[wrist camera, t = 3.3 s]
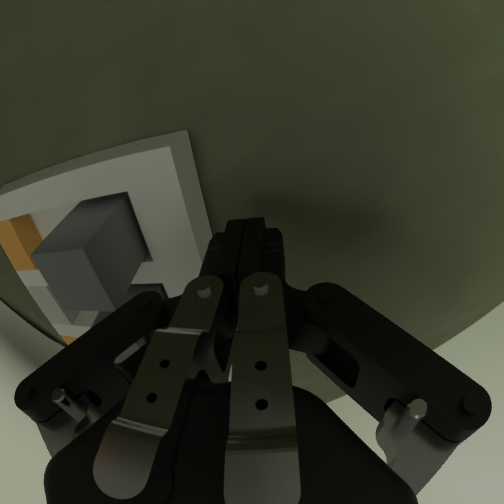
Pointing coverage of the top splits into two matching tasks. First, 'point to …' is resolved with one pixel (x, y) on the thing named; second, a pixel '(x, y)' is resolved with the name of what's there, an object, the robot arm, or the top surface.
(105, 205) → the tab
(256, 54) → the top surface
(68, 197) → the switch bank
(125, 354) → the tab
